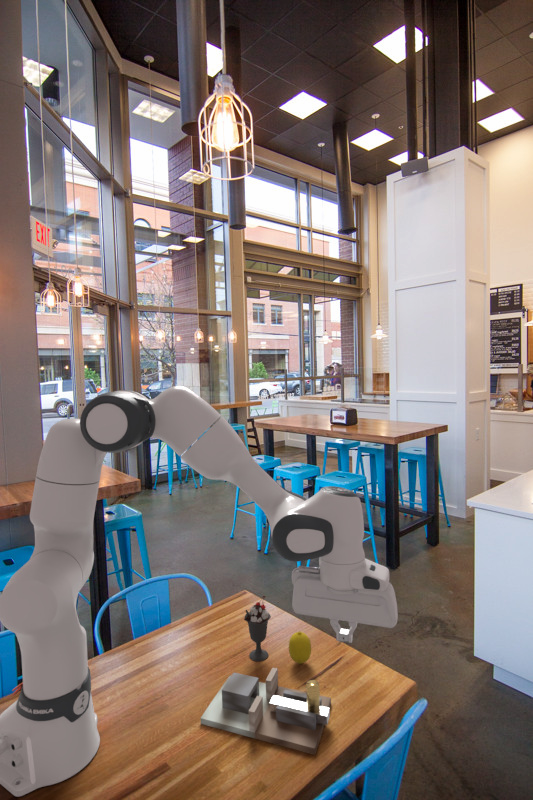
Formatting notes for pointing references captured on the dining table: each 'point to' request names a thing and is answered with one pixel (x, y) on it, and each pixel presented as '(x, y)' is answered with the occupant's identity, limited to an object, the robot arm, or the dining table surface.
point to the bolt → (310, 706)
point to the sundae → (258, 629)
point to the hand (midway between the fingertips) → (344, 640)
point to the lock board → (264, 713)
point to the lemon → (299, 647)
